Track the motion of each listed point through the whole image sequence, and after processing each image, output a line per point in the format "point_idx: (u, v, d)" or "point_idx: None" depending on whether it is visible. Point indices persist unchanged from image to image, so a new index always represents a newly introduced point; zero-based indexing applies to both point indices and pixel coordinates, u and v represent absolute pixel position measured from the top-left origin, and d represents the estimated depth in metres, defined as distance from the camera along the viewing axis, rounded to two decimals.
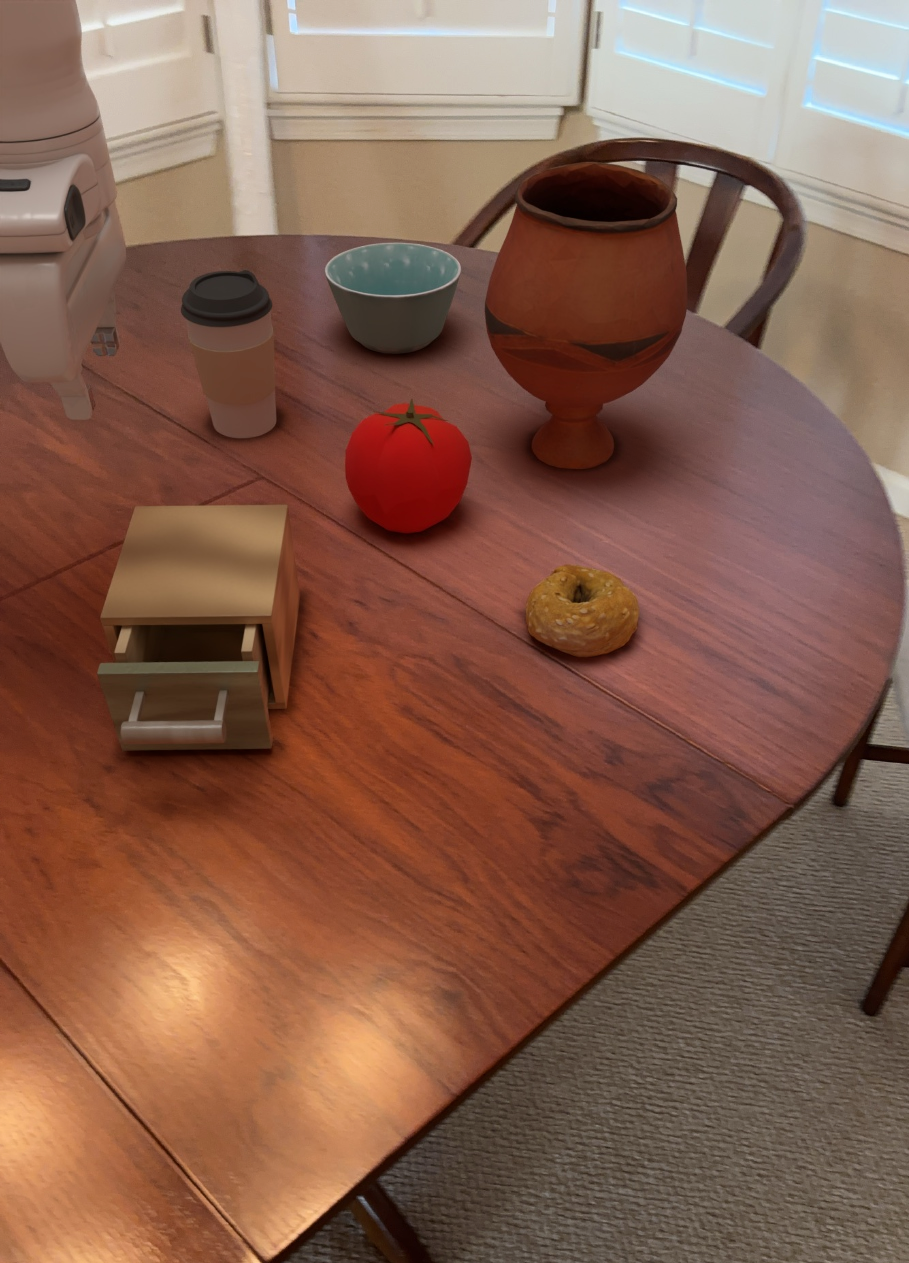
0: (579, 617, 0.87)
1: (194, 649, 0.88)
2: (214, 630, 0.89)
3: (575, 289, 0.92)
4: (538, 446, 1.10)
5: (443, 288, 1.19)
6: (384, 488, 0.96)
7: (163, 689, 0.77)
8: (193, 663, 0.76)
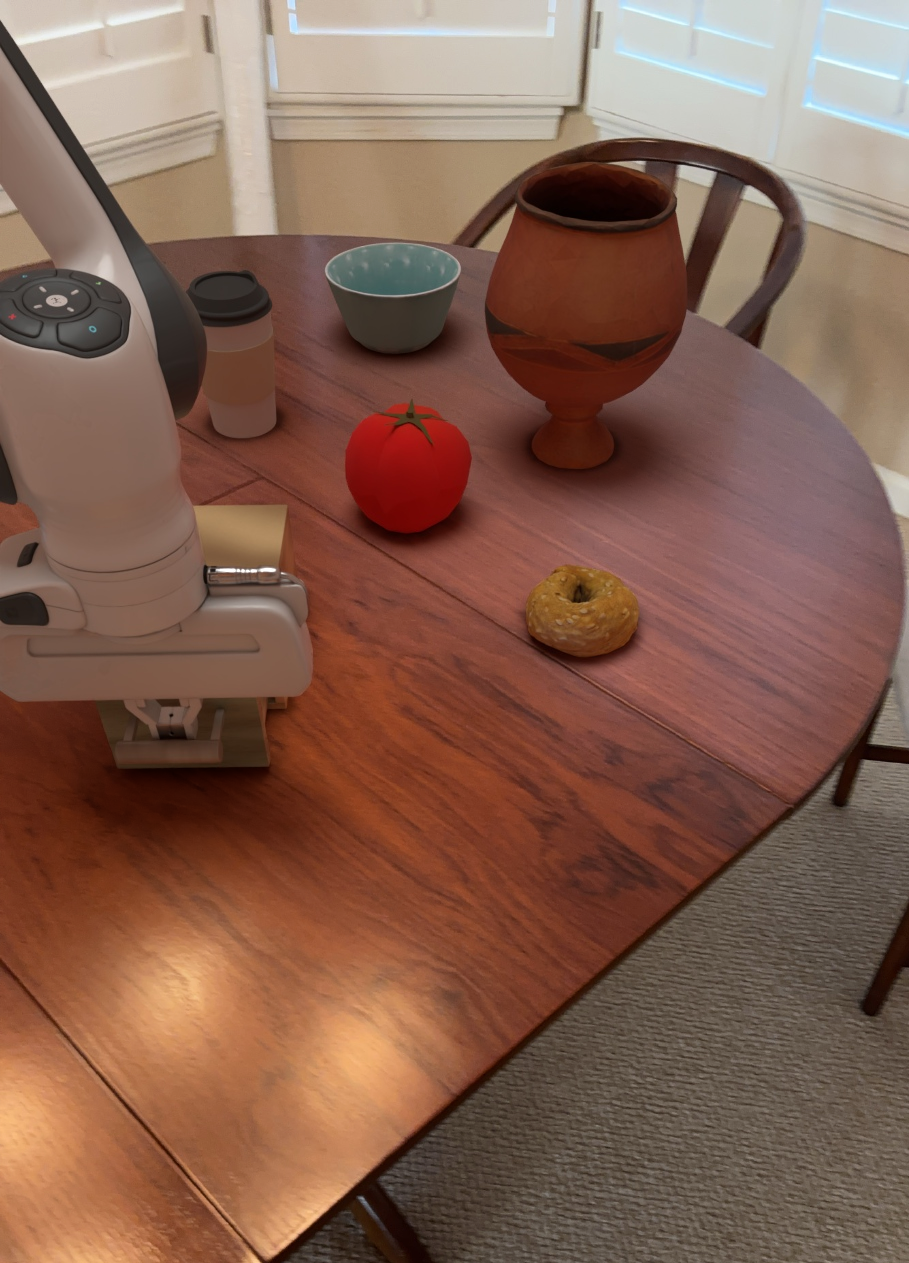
0: (579, 617, 0.87)
1: None
2: None
3: (575, 289, 0.92)
4: (538, 446, 1.10)
5: (443, 288, 1.19)
6: (384, 488, 0.96)
7: None
8: None
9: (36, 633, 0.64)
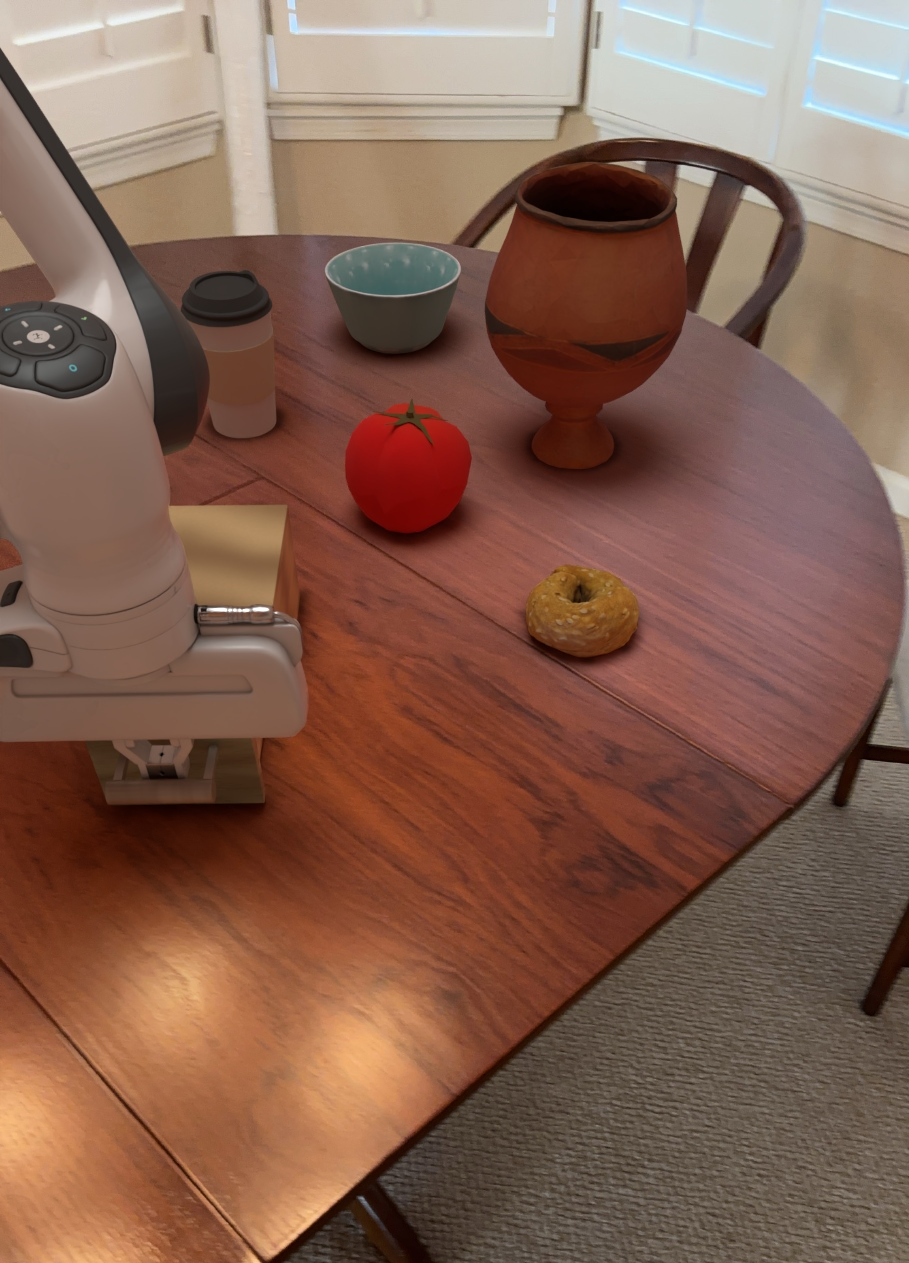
0: (579, 617, 0.87)
1: None
2: None
3: (575, 289, 0.92)
4: (538, 446, 1.10)
5: (443, 288, 1.19)
6: (384, 488, 0.96)
7: None
8: None
9: (20, 674, 0.62)
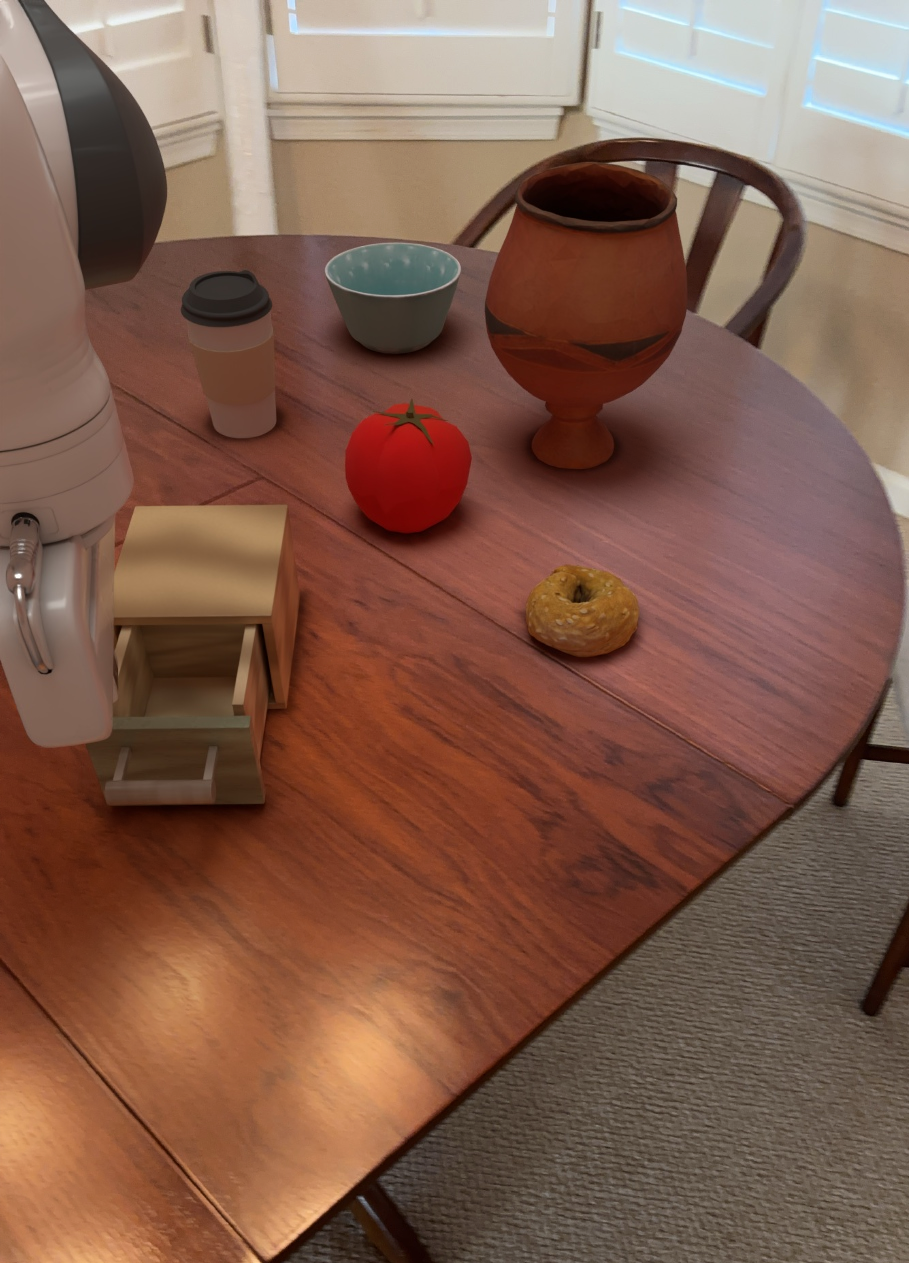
0: (579, 617, 0.87)
1: (184, 696, 0.84)
2: (205, 675, 0.85)
3: (575, 289, 0.92)
4: (538, 446, 1.10)
5: (443, 288, 1.19)
6: (384, 488, 0.96)
7: (150, 745, 0.73)
8: (181, 718, 0.73)
9: None
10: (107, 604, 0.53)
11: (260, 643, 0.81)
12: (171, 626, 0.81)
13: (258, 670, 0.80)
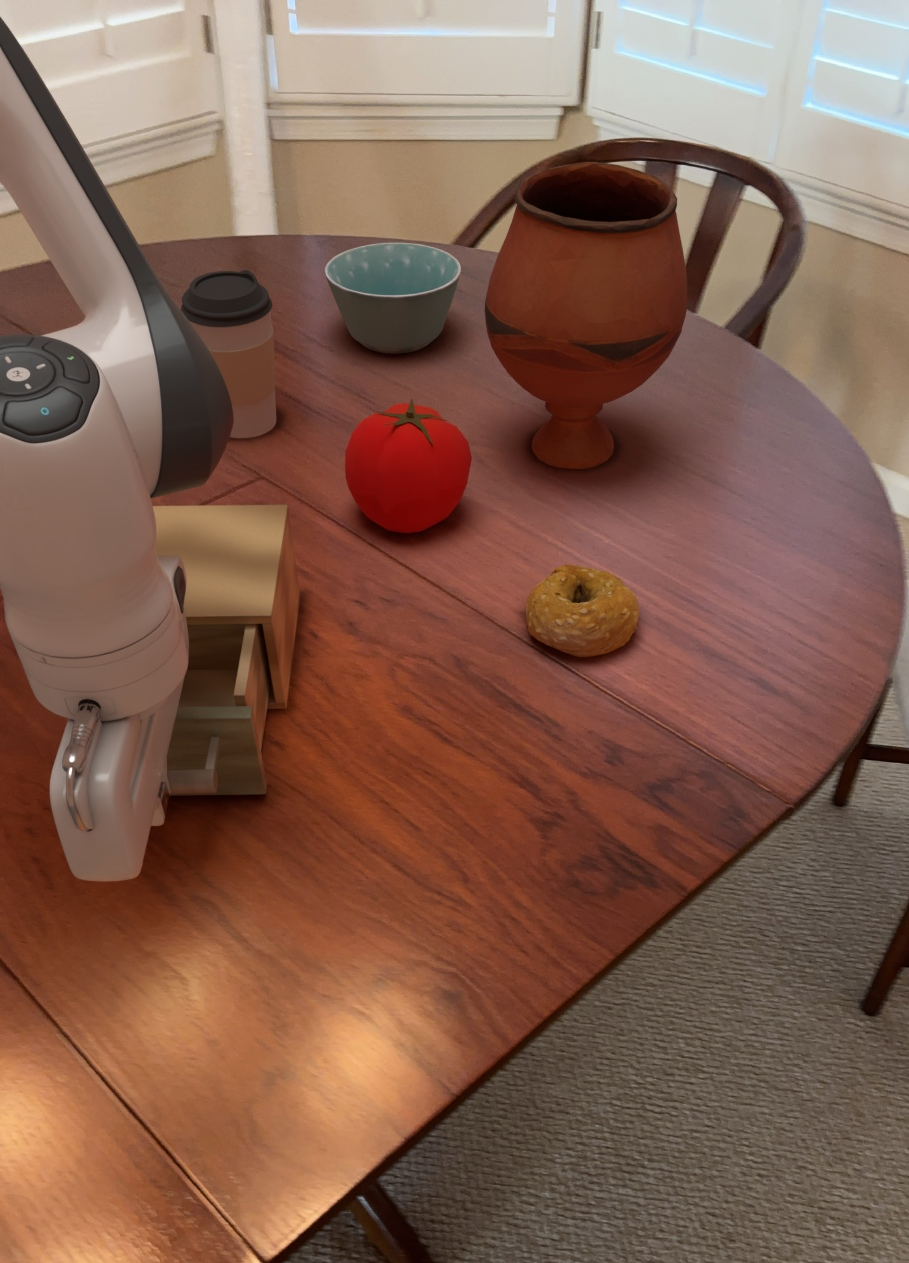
0: (579, 617, 0.87)
1: (185, 688, 0.84)
2: (206, 668, 0.86)
3: (575, 289, 0.92)
4: (538, 446, 1.10)
5: (443, 288, 1.19)
6: (384, 488, 0.96)
7: None
8: (183, 708, 0.73)
9: None
10: (158, 756, 0.64)
11: (261, 635, 0.82)
12: None
13: (259, 662, 0.81)
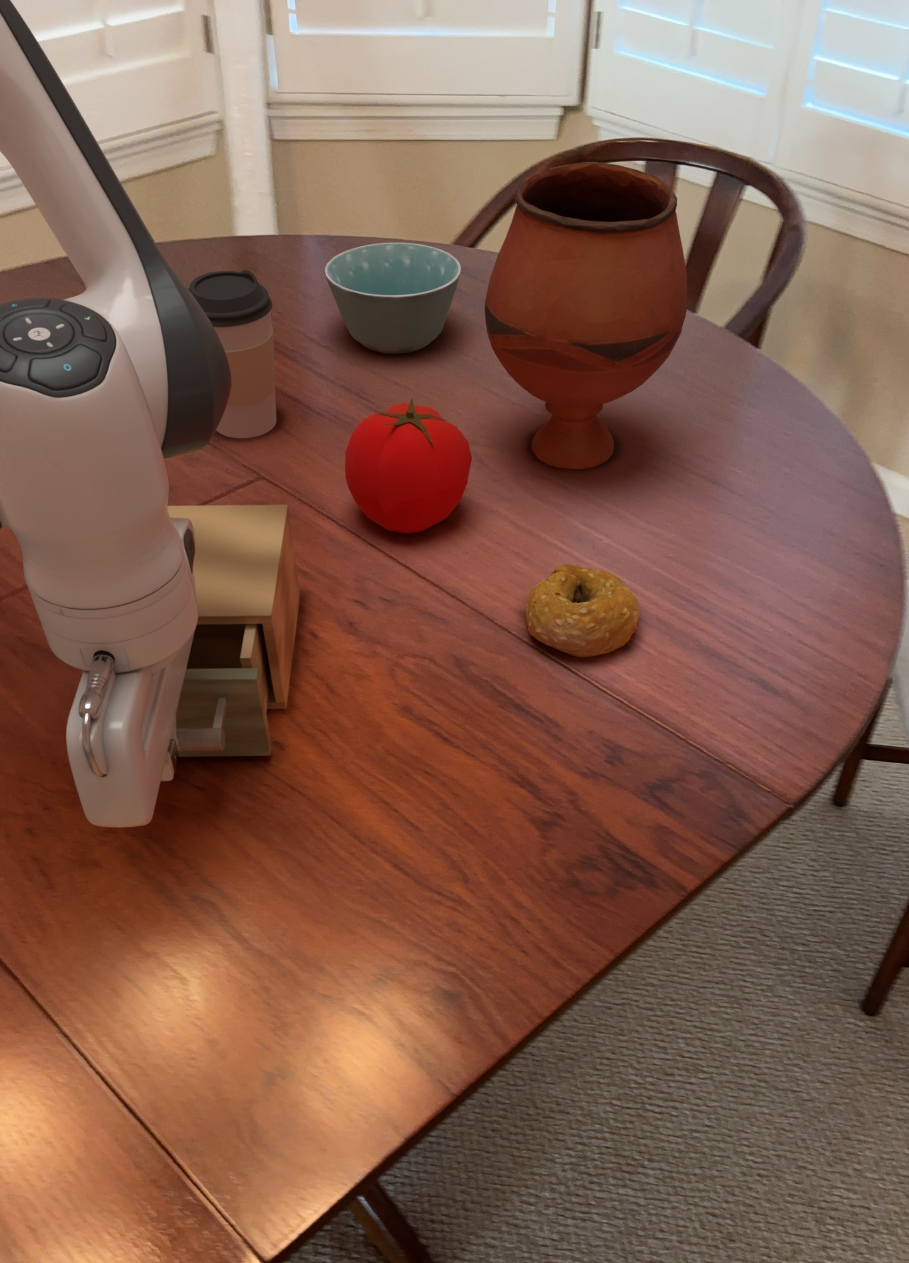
0: (579, 617, 0.87)
1: (192, 655, 0.87)
2: (213, 636, 0.88)
3: (575, 289, 0.92)
4: (538, 446, 1.10)
5: (443, 288, 1.19)
6: (384, 488, 0.96)
7: None
8: (192, 670, 0.76)
9: None
10: (168, 711, 0.67)
11: None
12: None
13: None
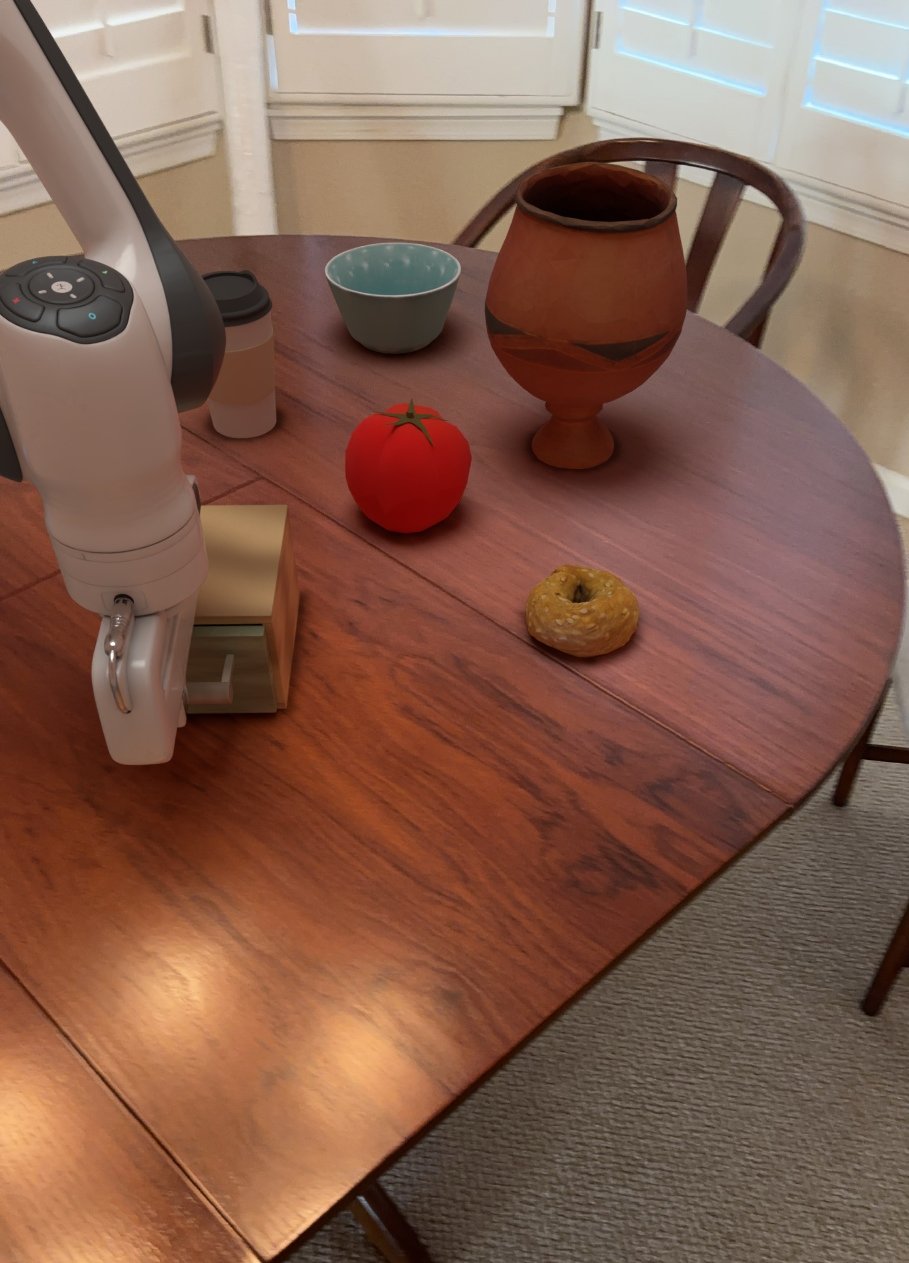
0: (579, 617, 0.87)
1: None
2: None
3: (575, 289, 0.92)
4: (538, 446, 1.10)
5: (443, 288, 1.19)
6: (384, 488, 0.96)
7: None
8: (201, 627, 0.79)
9: None
10: (181, 657, 0.70)
11: None
12: None
13: None
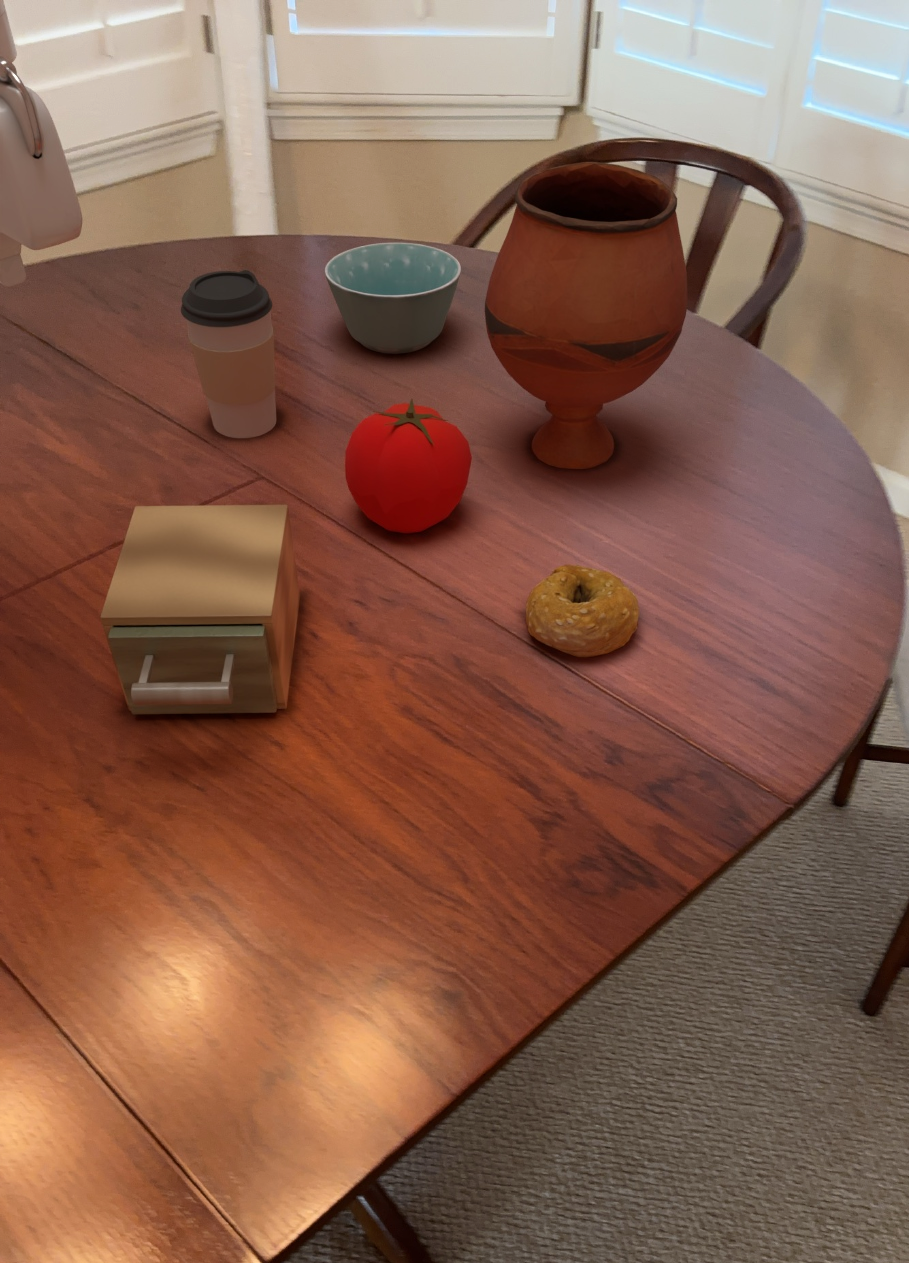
0: (579, 617, 0.87)
1: None
2: None
3: (575, 289, 0.92)
4: (538, 446, 1.10)
5: (443, 288, 1.19)
6: (384, 488, 0.96)
7: (172, 653, 0.79)
8: (201, 627, 0.79)
9: None
10: None
11: None
12: None
13: None
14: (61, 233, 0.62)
